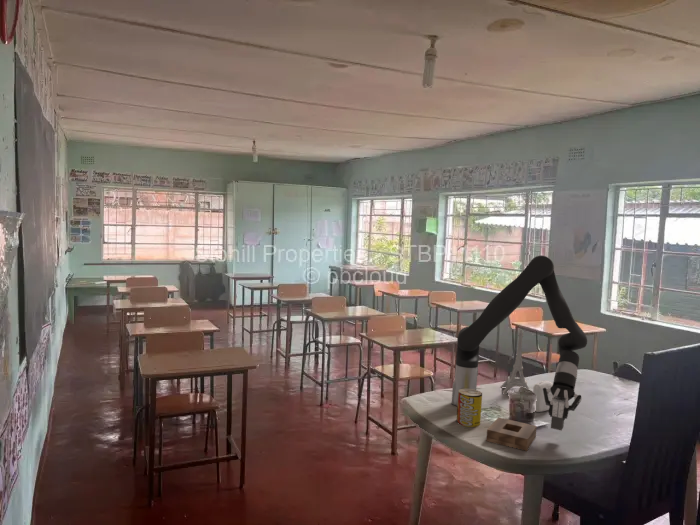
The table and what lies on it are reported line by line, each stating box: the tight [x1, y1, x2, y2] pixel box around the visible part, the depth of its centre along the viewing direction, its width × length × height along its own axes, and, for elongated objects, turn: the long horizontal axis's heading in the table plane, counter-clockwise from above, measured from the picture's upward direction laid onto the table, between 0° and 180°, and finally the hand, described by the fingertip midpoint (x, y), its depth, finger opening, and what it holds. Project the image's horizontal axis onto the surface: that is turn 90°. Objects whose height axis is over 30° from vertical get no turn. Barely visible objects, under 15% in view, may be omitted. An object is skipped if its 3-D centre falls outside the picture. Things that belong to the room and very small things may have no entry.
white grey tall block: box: [550, 396, 566, 432], centre depth 190 cm, size 4×4×11 cm
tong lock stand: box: [485, 416, 538, 452], centre depth 190 cm, size 14×15×4 cm
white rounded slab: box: [532, 380, 553, 413], centre depth 223 cm, size 10×4×12 cm, turn 123°
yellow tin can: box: [456, 389, 483, 428], centre depth 204 cm, size 9×9×12 cm
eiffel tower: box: [501, 328, 530, 394], centre depth 245 cm, size 13×13×30 cm
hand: (557, 417), depth 188 cm, fingers closed on white grey tall block, 3 cm apart
